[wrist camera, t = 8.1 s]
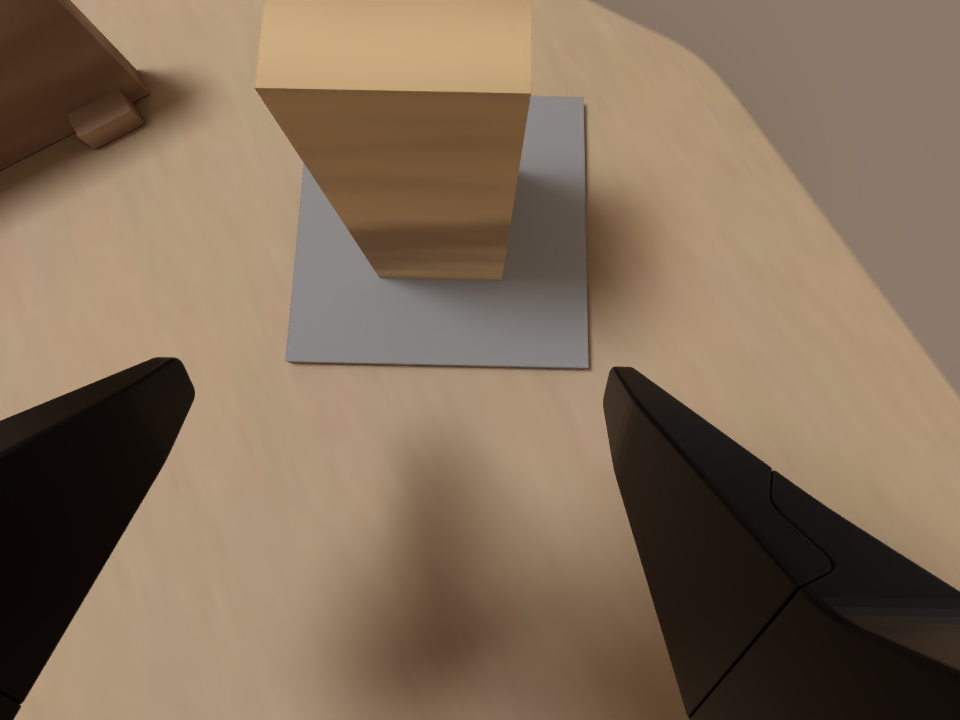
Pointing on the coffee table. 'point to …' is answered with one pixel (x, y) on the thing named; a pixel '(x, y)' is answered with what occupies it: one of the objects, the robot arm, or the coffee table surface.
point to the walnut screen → (60, 80)
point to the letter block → (406, 122)
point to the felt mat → (453, 302)
